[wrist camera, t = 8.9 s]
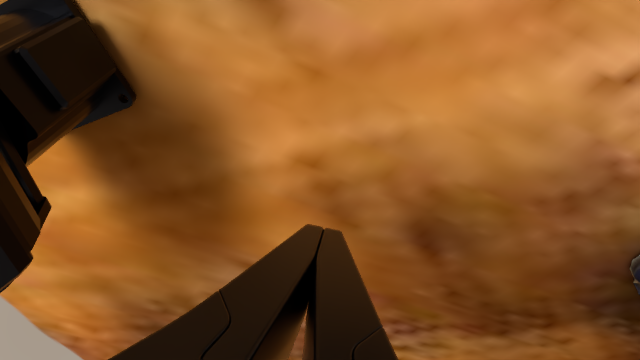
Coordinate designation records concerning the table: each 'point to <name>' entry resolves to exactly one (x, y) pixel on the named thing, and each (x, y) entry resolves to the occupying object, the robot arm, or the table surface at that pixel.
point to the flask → (636, 272)
